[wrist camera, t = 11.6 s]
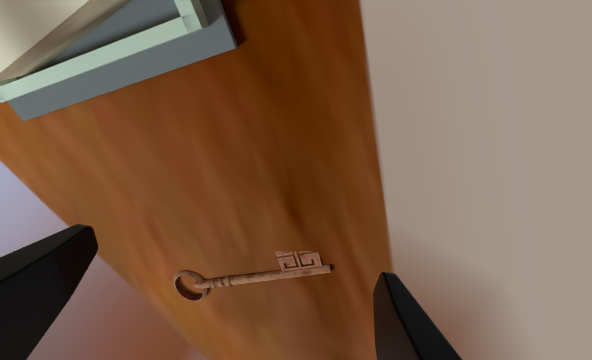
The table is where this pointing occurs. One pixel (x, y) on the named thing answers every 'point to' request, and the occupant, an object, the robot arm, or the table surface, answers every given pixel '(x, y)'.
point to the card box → (46, 30)
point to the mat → (124, 23)
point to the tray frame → (110, 51)
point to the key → (258, 274)
